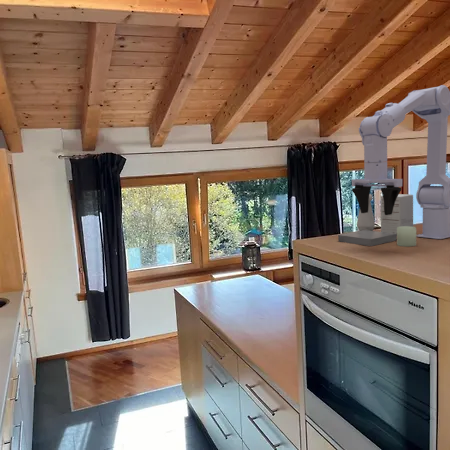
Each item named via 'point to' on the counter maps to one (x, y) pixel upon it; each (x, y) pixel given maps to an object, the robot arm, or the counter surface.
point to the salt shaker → (366, 218)
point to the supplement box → (398, 214)
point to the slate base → (367, 237)
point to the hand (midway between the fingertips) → (376, 213)
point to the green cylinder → (406, 236)
